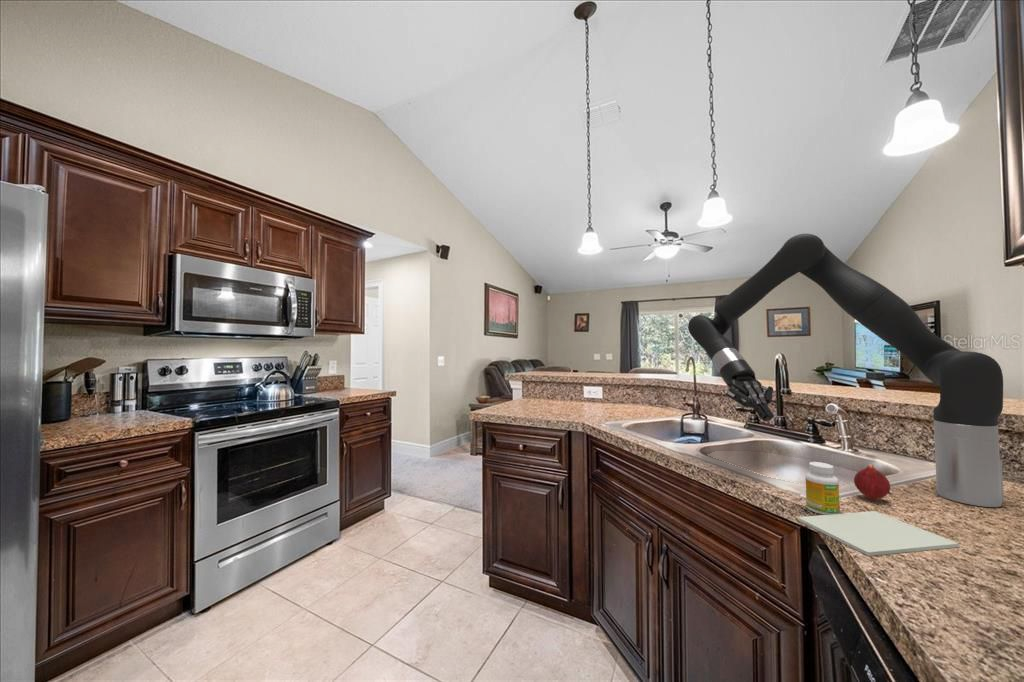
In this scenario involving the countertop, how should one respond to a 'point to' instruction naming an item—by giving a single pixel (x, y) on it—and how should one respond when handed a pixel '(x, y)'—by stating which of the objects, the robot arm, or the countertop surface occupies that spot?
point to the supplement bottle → (822, 489)
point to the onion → (872, 483)
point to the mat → (876, 533)
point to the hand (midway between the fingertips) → (769, 419)
